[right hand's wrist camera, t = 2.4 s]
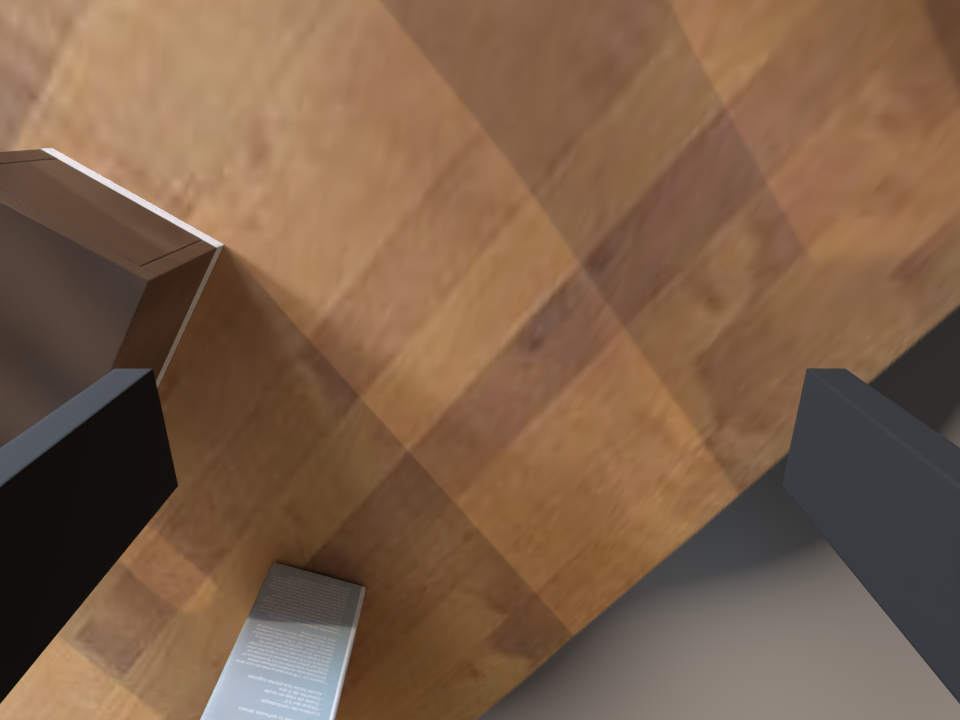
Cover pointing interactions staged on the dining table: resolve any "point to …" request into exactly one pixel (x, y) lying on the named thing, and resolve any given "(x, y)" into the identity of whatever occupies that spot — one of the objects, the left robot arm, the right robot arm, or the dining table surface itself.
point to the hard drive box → (290, 650)
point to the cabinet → (85, 283)
